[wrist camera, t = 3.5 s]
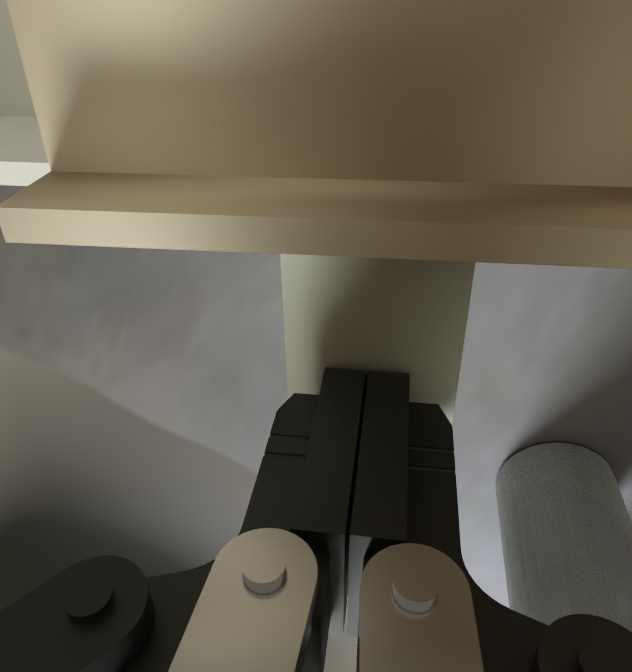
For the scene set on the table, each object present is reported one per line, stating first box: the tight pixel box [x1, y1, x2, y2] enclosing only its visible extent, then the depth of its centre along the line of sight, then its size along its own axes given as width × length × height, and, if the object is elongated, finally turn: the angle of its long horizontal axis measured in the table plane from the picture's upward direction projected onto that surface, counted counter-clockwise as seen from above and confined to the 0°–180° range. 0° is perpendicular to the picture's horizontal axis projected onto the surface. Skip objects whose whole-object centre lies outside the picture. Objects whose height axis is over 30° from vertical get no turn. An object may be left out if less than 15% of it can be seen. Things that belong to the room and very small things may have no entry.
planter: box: [496, 443, 632, 632], centre depth 20 cm, size 4×4×10 cm
